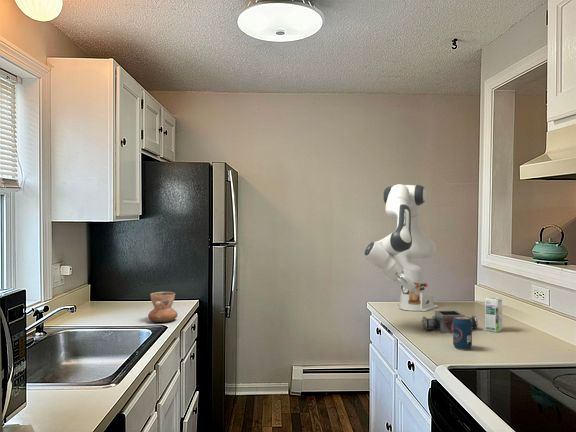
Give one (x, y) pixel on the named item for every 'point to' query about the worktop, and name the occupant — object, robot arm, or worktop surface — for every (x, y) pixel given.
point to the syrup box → (493, 314)
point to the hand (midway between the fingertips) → (415, 292)
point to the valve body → (445, 321)
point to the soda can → (462, 332)
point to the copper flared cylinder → (415, 296)
